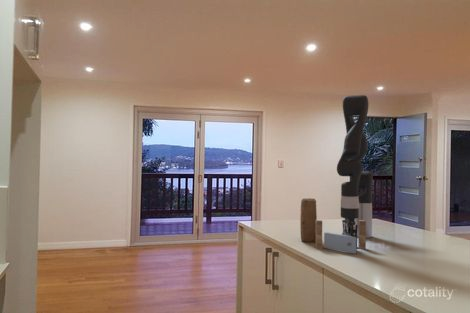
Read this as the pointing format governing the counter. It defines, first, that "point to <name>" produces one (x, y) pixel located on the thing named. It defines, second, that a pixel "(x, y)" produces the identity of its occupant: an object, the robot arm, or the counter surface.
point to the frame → (360, 234)
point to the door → (340, 242)
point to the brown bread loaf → (308, 220)
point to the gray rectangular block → (348, 235)
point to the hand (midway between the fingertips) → (349, 246)
